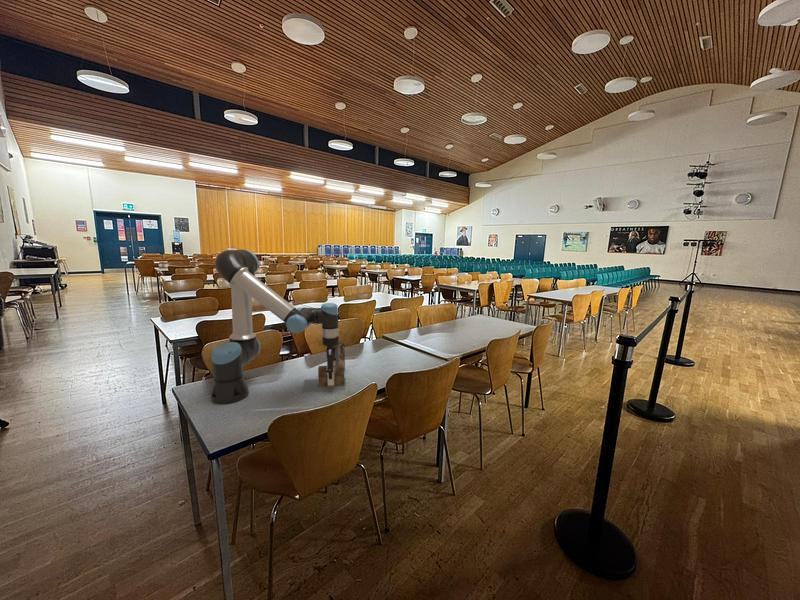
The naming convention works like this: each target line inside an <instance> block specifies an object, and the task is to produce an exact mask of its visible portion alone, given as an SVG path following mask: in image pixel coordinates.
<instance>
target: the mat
mask: <svg viewBox="0 0 800 600" xmlns="http://www.w3.org/2000/svg"><path fill="white" fill-rule="evenodd" d="M344 378H345V384H344V385H337V386H335V389H328V386H319V378H316V379H315V378H314V379H305V380H304V381H303V385H302V388H301V391H300V393H317V392H335V391H336V392H337V391H346V383H347V382H346V381H347V378H346V377H344Z"/></svg>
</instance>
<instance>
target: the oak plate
mask: <svg viewBox="0 0 800 600" xmlns="http://www.w3.org/2000/svg"><path fill="white" fill-rule="evenodd" d="M329 370H331V369H329ZM333 371H334V385H328V389H335V363H333Z"/></svg>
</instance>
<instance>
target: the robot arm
mask: <svg viewBox="0 0 800 600" xmlns="http://www.w3.org/2000/svg"><path fill="white" fill-rule="evenodd" d="M259 263H260V262H259V258H258V257H257V256H256V254H255V253H254V252H252V251H251V250H248V249H231V250H230V249H229V250H227V249H226V250H224V251H221V252H219V254H217V256H216V257H215V260H214V268H215V270H216V272H217V273H218V275H219V276H220V277H221V278H222V279H223V280H224V281H226V282H227V283H229V285H230V290H231V291H230V292H231V295H230V296H231V314H232V315H231V316H232V317H231V321H232V322H231V323H232V333H231V334H230V336H229V337H228V339H229V340H228V342H223V343H219V344H217V345H216V346H214V348H212V351H211V356H210V358H211V359H210V360H211V365H212V374H213V375H212V376H213V385H212V388H211V392H210V400H211V402H212V403H213V402H214V403H213V404H219V405H223V404H224V405H225V404H227V405H228V404H233V403H237V402H239V401H241V400H244V399H246V398H247V397H248V396H249V394H250V392H249V391H250V390H249V386H248V385H247V382H246V380H245V379H244V370H243V367H244V366H246V365H247V364H249V363H250V362H252V361H254V359H256V358H257V356H258V355H259V354H260V353H261V343H260V341H259V340H258V338H257V334H256V333H254V331H253V328H254V327H253V300H255V301H256V302H258V303H259V304H260V305H261V306H262V307H264V308H265V309H266V310H268V311H269V312H270V313H272V314H273V315H275V317H277V318H279V319H280V320H281V321H282V322H283V323H285V324H286V325H285V326H286V328H287V330H288V331H289V332H290V333H293V334H299V333H301V332H304V331H305V330H306V329H307V328H308V327H309V326H311V325H321V336H322V337H321V338H322V339H321V340H322V345H323V346H324V347H326V349H325V350H326V351H325V352H326V362H327V363H326V366H327V371H326V373H327V376H328V385H334V371H333V363H335V361H334V360H336V358H335V347H334V346H336V345H338V344H339V343H340V341H339V339H340V338H339V332H340V331H341V329H339V310H338V309H339V306H338V304H336V303H332V302H326V303H322V304H321V307H306V306H305V307H304V306H303V307H297V308H296V307H295V306H293V305H292V304H291V303H290V302H289V301H287V300H286V299H284V298H283V297H282V296H281V295H280V294H278V293H277V292H276V291H274V290H273V289H272V288H271V287H269V286H268V285H267V284H265V283H264V282H263V281H262V280H260V279H259V278H257V277H256V276H255V275H256V274H255V273H256V272H257V271H258V269H259V265H260V264H259ZM329 369H331V370H329Z"/></svg>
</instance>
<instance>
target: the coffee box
mask: <svg viewBox="0 0 800 600" xmlns="http://www.w3.org/2000/svg"><path fill="white" fill-rule="evenodd" d="M334 347H335V358H336V360H334V361H335V374H336V365H344V371H345V370H346V358H345V357H346V355H345V353H346V352H345V342H339V344H338V345H336V346H334Z"/></svg>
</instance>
